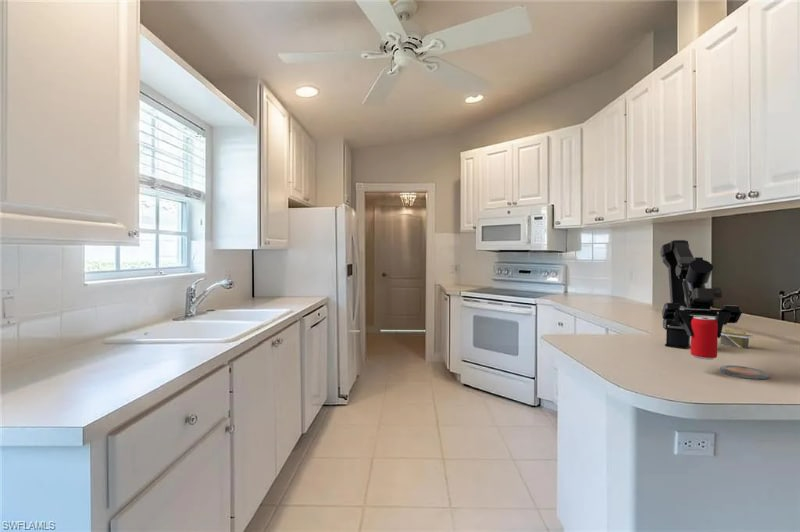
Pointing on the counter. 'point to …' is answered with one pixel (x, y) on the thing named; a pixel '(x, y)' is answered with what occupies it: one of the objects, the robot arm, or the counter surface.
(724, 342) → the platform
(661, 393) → the counter surface
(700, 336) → the beverage can
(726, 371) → the slate coaster
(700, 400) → the counter surface
